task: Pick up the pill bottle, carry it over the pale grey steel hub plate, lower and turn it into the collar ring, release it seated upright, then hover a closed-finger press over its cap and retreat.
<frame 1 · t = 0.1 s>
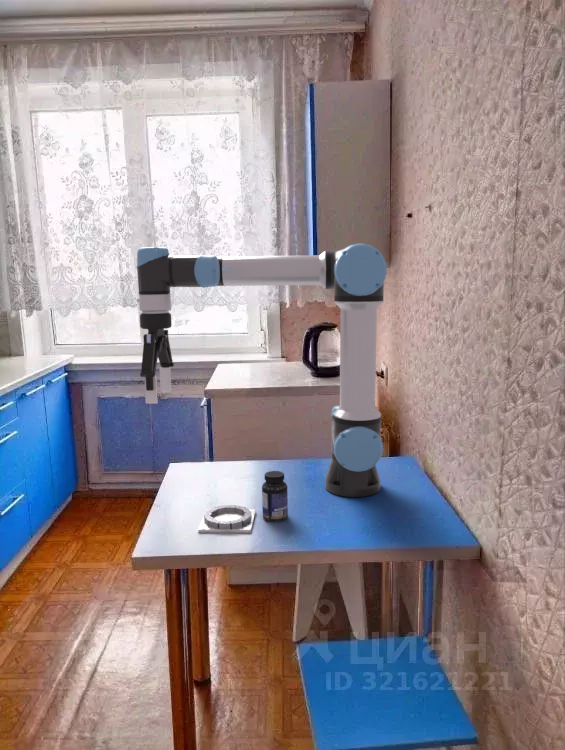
hand: (159, 397, 148), 28 cm above the table, fingers open, 13 cm apart
hub plate: (228, 522, 141), on the table
pill bottle: (275, 518, 144), on the table
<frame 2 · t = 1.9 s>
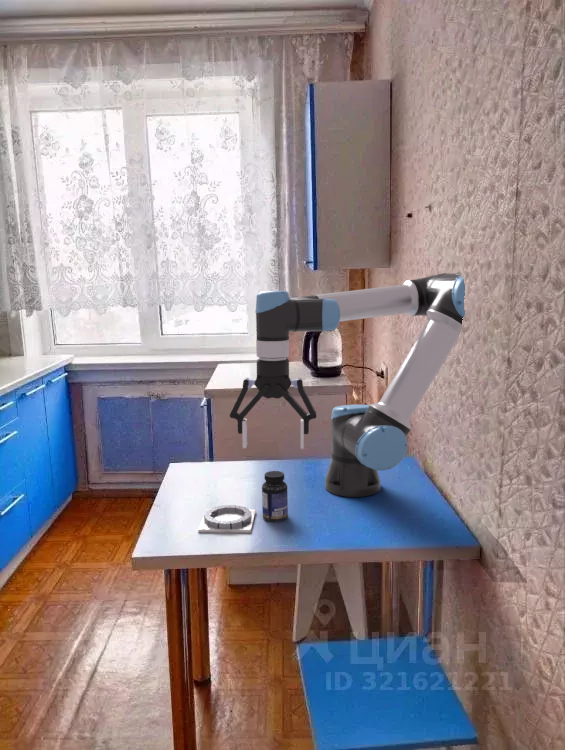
hand: (273, 447, 141), 18 cm above the table, fingers open, 13 cm apart
nothing on the table moved.
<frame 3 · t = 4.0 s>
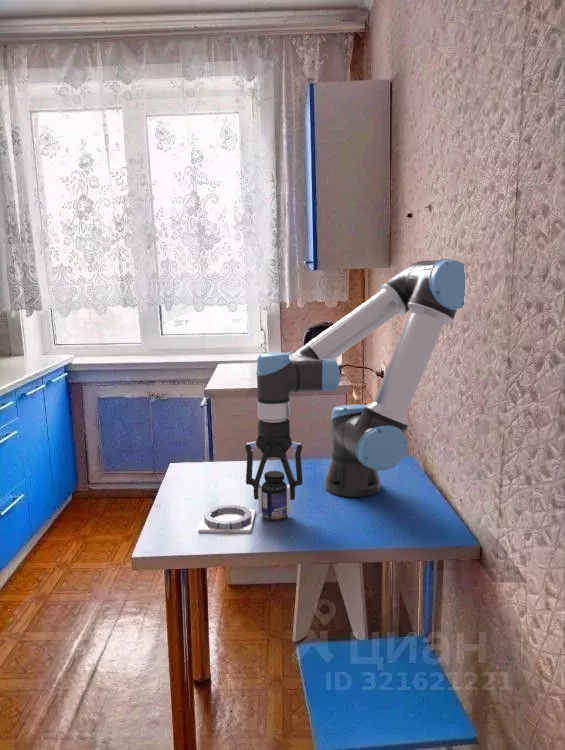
hand: (274, 511, 143), 1 cm above the table, fingers closed on pill bottle, 6 cm apart
pill bottle: (274, 518, 144), on the table, touching gripper
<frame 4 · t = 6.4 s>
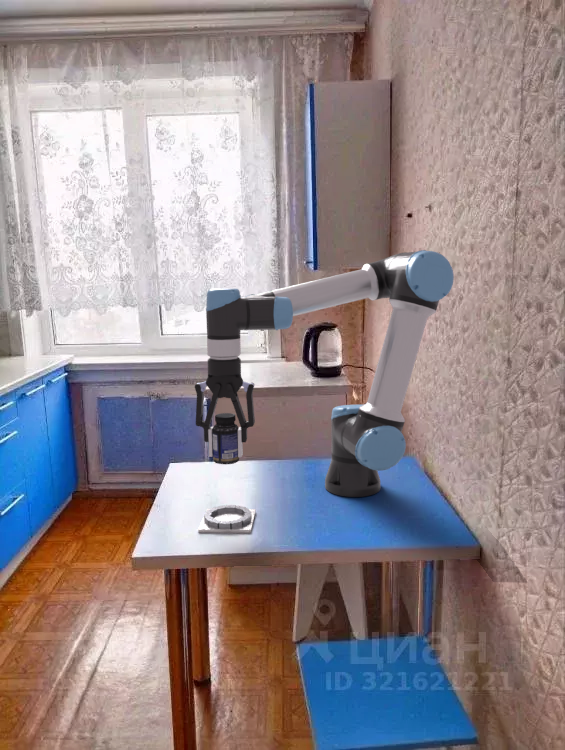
hand: (226, 455, 138), 16 cm above the table, fingers closed on pill bottle, 6 cm apart
pill bottle: (226, 462, 139), point 15 cm above the table, touching gripper
when the fingers open (4 cm above the table, at t = 8.6 s): pill bottle drops 1 cm, resting on hub plate.
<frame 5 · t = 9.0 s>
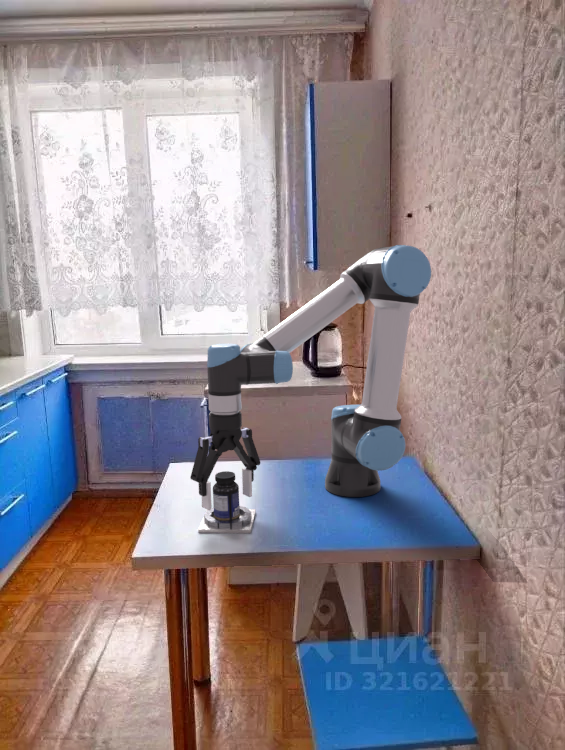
hand: (227, 501, 140), 5 cm above the table, fingers open, 11 cm apart
pill bottle: (226, 519, 141), point 1 cm above the table, touching hub plate
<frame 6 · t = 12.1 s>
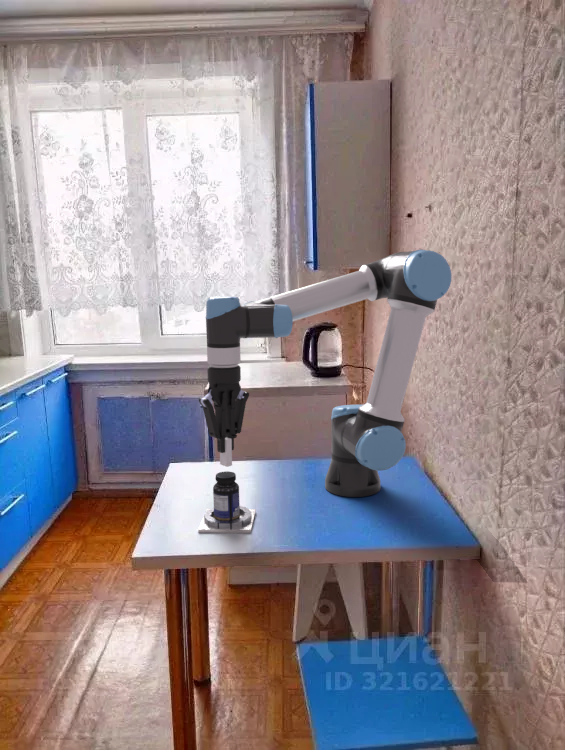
hand: (226, 464, 139), 14 cm above the table, fingers closed
nothing on the table moved.
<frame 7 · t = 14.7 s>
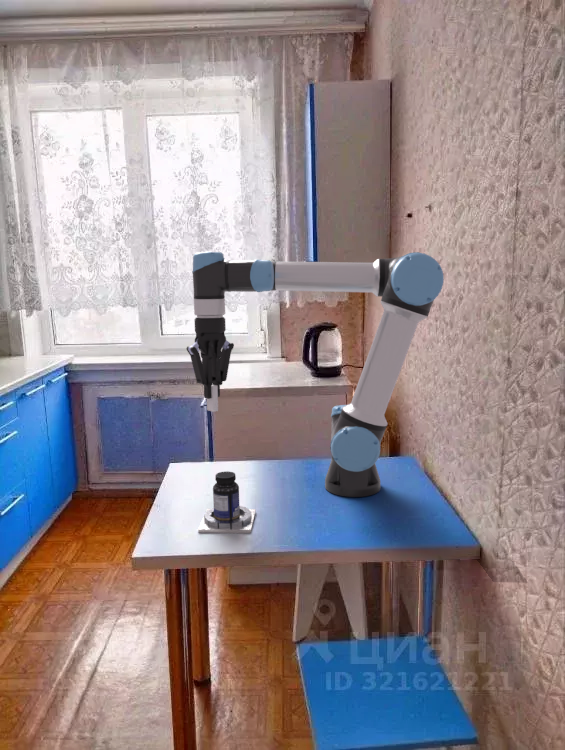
hand: (212, 410, 149), 24 cm above the table, fingers closed
nothing on the table moved.
at the end: pill bottle 0.3 cm off-centre on the hub plate, point 0.6 cm above the hub plate's base; pill bottle tilted 0°; the gripper is holding nothing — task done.
